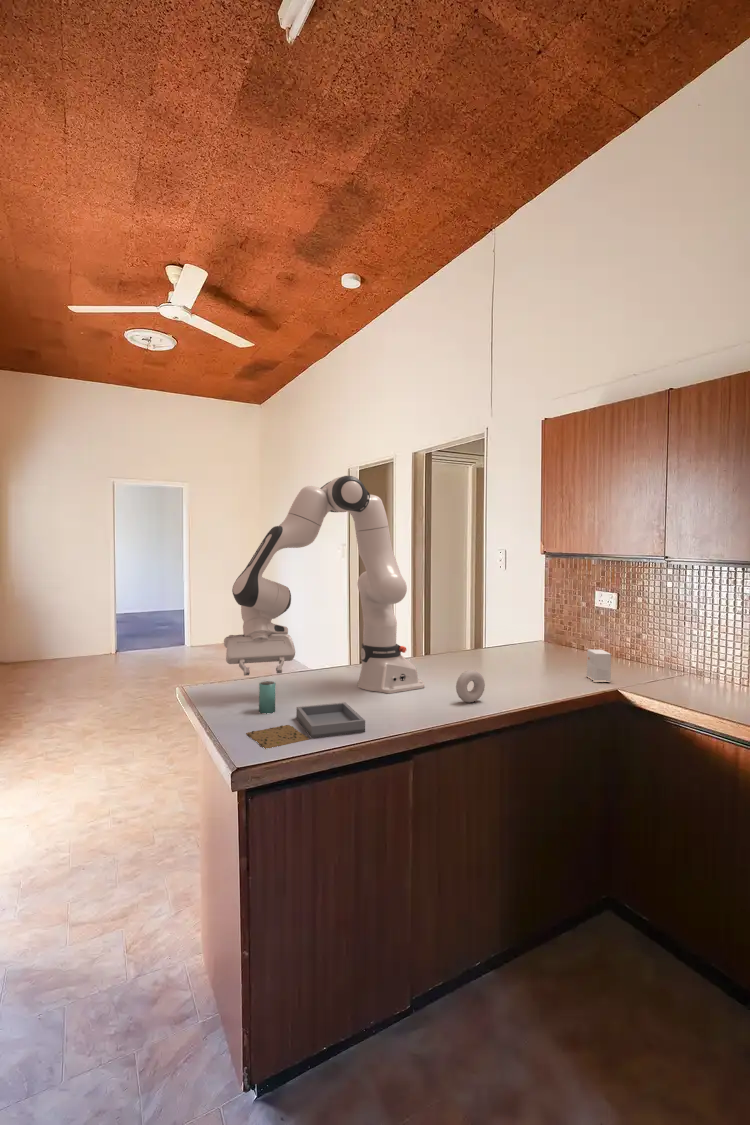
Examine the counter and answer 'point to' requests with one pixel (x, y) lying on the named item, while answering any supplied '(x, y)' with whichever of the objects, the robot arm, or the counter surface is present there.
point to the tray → (330, 720)
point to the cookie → (277, 736)
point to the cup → (267, 697)
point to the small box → (598, 664)
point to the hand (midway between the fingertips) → (263, 673)
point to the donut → (463, 682)
